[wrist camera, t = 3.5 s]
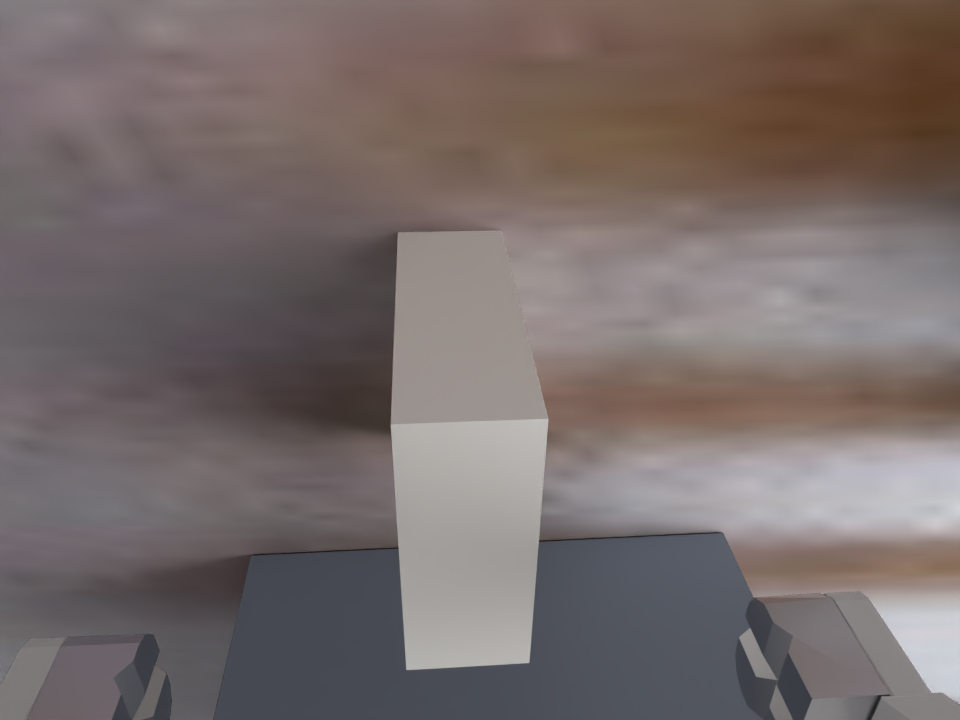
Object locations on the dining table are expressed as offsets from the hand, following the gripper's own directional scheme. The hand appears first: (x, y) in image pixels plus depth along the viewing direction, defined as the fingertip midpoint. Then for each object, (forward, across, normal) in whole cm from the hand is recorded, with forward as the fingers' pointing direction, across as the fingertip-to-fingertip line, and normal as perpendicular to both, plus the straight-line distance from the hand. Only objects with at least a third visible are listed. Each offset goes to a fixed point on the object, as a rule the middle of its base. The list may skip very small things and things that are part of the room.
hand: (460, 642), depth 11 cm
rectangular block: (+7, 0, -1) cm, 7 cm away
